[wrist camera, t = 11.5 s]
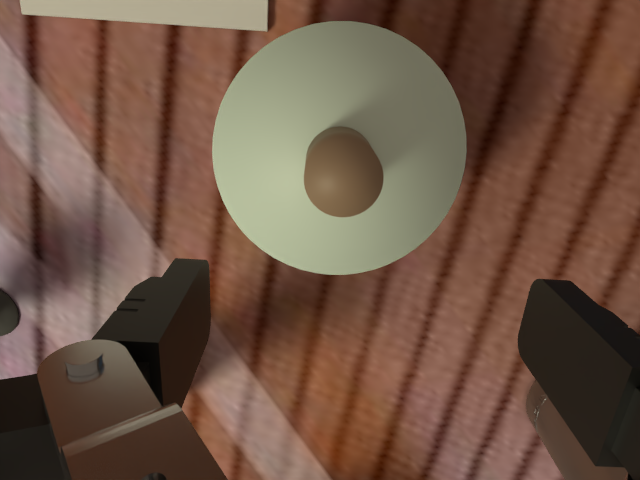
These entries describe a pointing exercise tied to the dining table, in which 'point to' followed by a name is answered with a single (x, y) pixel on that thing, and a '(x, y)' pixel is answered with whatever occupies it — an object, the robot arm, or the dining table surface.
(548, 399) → the robot arm
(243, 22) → the mat
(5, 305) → the sundae
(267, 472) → the dining table surface
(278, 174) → the lid
